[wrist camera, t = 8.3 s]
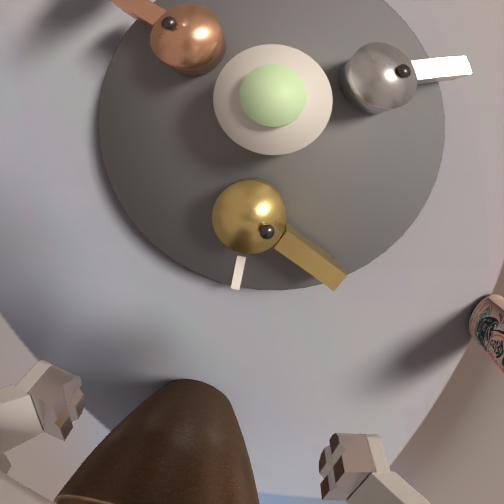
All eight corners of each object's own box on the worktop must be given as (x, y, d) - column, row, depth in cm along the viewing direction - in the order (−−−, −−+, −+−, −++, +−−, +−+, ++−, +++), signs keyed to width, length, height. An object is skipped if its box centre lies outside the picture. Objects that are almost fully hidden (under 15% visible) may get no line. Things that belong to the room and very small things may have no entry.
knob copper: (239, 42, 17) (233, 24, 14) (197, 87, 18) (183, 76, 15) (150, -13, 16) (134, -32, 13) (112, 27, 17) (91, 13, 14)
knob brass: (208, 216, 20) (197, 227, 17) (244, 164, 19) (239, 166, 16) (313, 289, 21) (319, 311, 18) (351, 243, 20) (363, 259, 17)
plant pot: (272, 453, 30) (267, 580, 15) (144, 443, 31) (102, 552, 16) (270, 347, 26) (265, 527, 10) (107, 341, 27) (15, 467, 11)
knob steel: (351, 120, 18) (366, 114, 15) (330, 62, 17) (341, 46, 14) (457, 99, 17) (482, 93, 14) (438, 46, 16) (460, 34, 13)
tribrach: (254, -68, 15) (249, -118, 9) (480, 125, 19) (534, 123, 13) (59, 142, 22) (3, 145, 15) (281, 336, 25) (283, 391, 19)
